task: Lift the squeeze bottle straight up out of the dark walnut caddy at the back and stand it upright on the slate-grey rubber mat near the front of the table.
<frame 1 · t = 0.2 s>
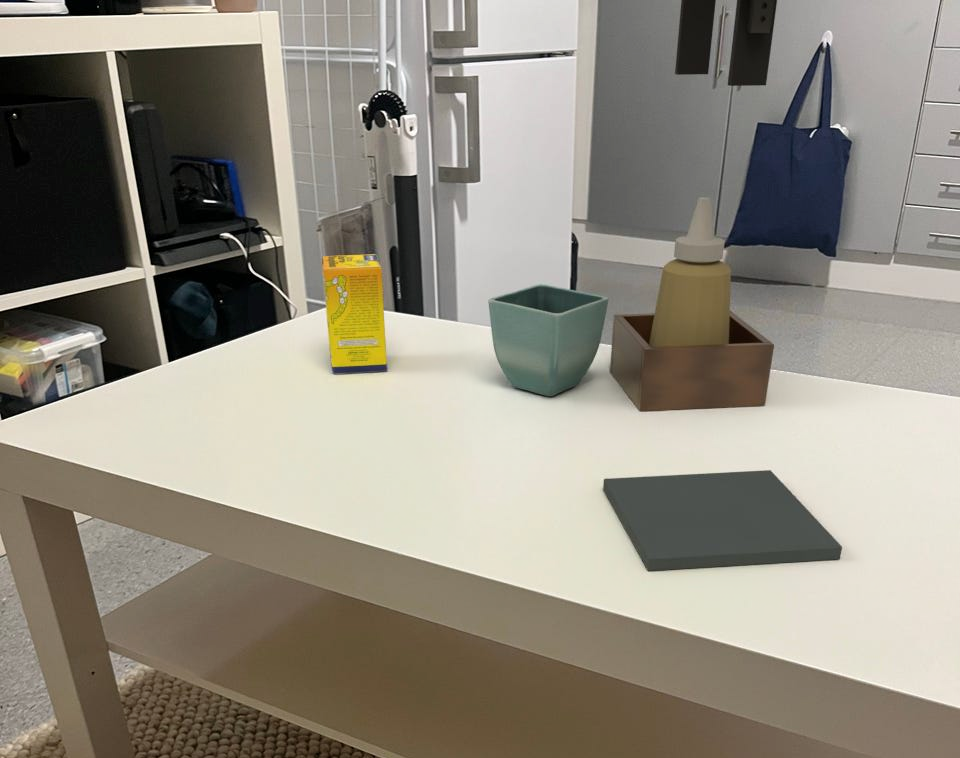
hand: (717, 80, 81), 28 cm above the table, tool pointing down, fingers open, 13 cm apart
squeeze bottle: (683, 389, 104), resting in caddy
caddy: (684, 387, 104), on the table
mat: (713, 522, 77), on the table
supplement box: (358, 366, 111), on the table
flower pot: (545, 389, 104), on the table
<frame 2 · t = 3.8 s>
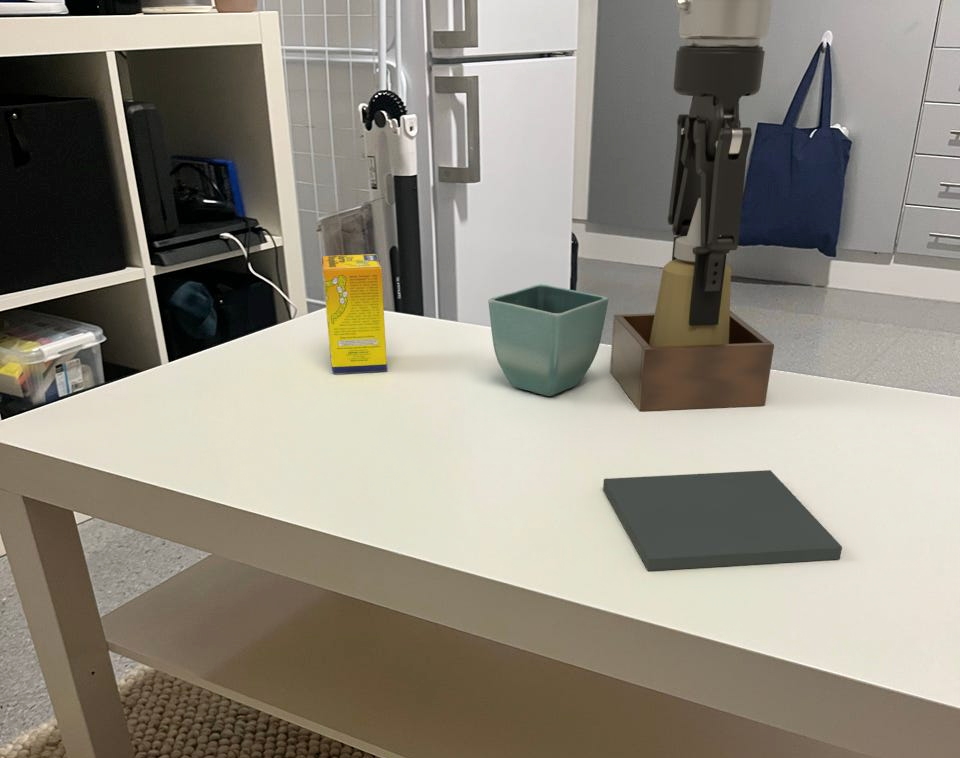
hand: (692, 313, 100), 7 cm above the table, tool pointing down, fingers closed on squeeze bottle, 6 cm apart
squeeze bottle: (683, 389, 104), resting in caddy, touching gripper
everything else where it was.
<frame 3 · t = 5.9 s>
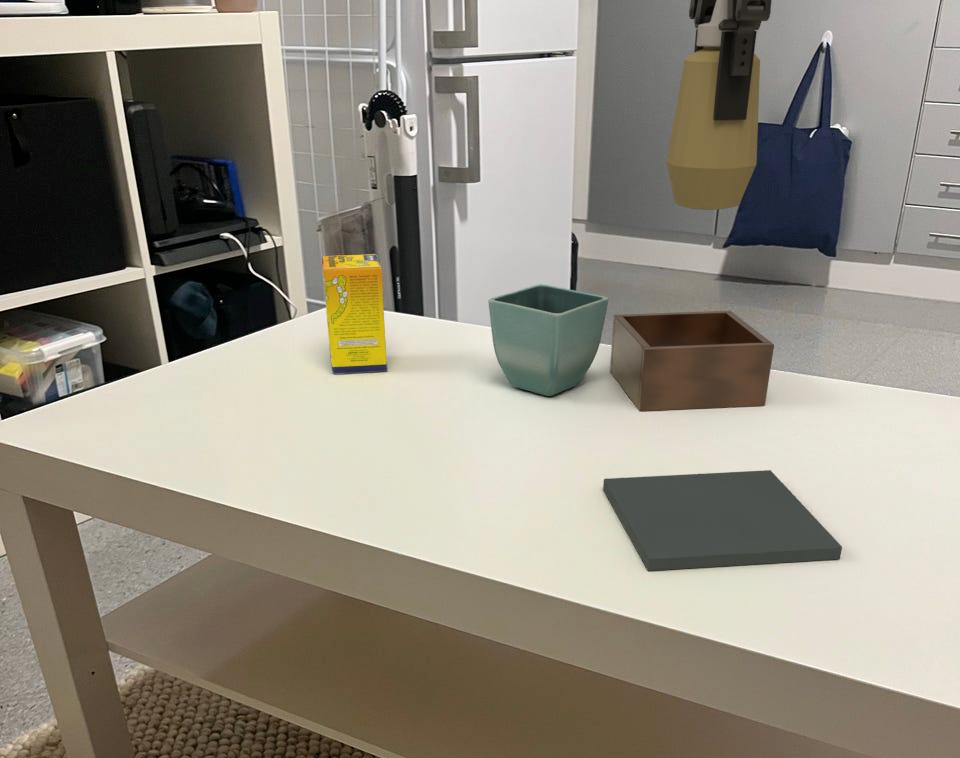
hand: (716, 115, 90), 25 cm above the table, tool pointing down, fingers closed on squeeze bottle, 6 cm apart
squeeze bottle: (706, 208, 94), point 17 cm above the table, touching gripper
everything else where it was.
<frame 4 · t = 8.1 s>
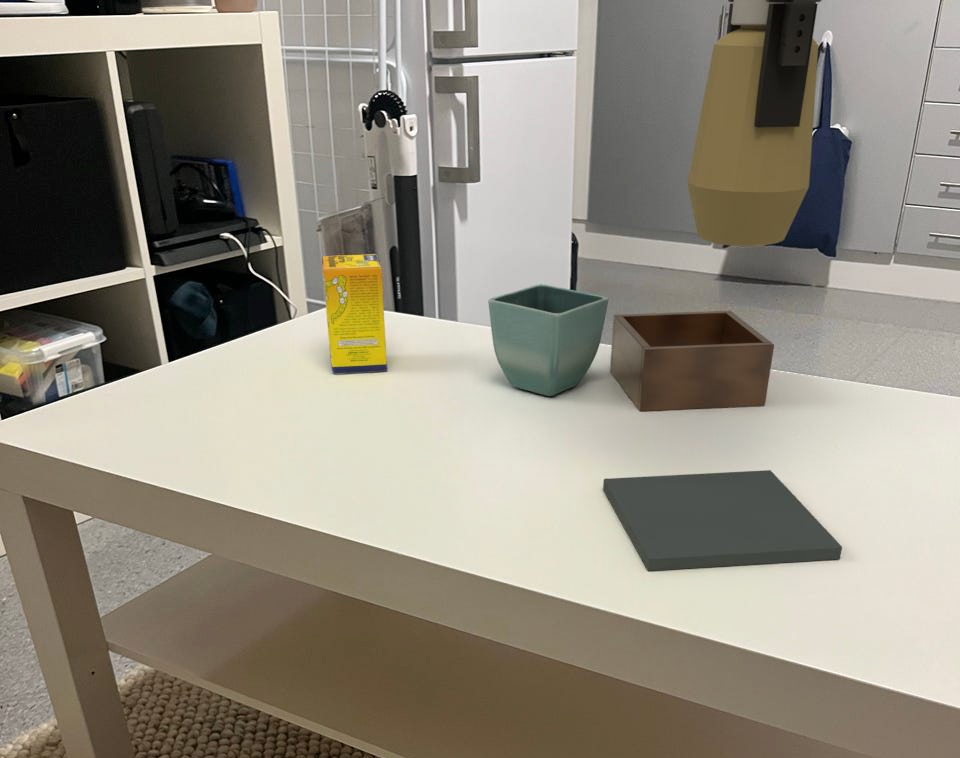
hand: (756, 120, 66), 27 cm above the table, tool pointing down, fingers closed on squeeze bottle, 6 cm apart
squeeze bottle: (739, 243, 70), point 19 cm above the table, touching gripper
everything else where it was.
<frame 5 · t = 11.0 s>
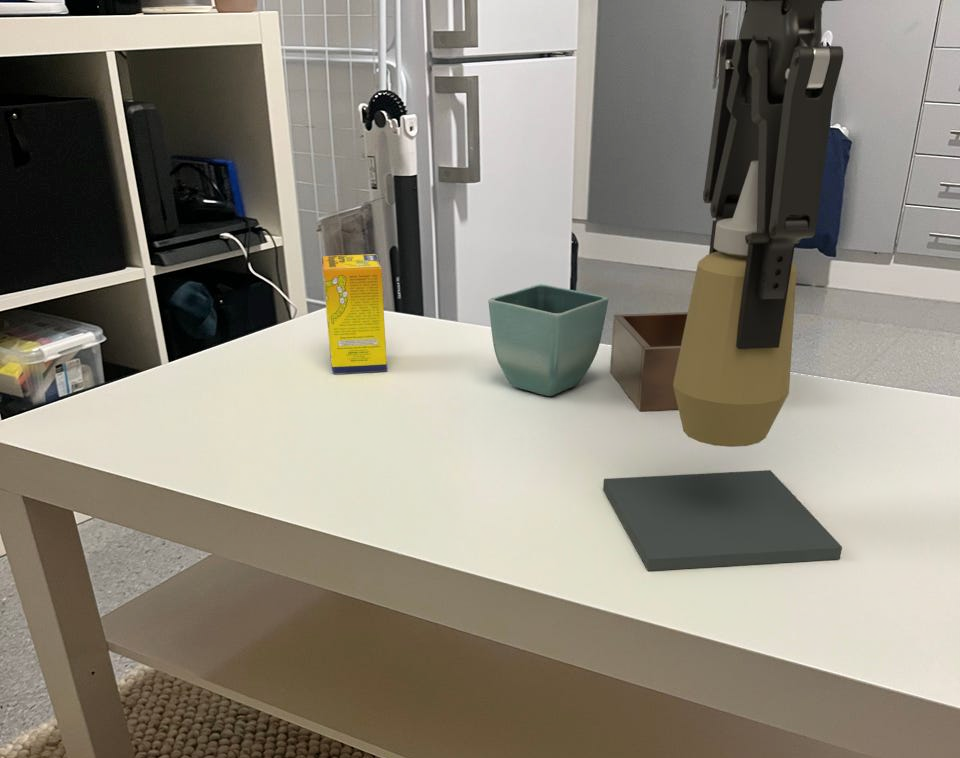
hand: (738, 331, 69), 14 cm above the table, tool pointing down, fingers closed on squeeze bottle, 6 cm apart
squeeze bottle: (723, 437, 73), point 7 cm above the table, touching gripper
everything else where it was.
when the fingers open (8 cm above the table, at t = 12.8 s): squeeze bottle stays where it is, resting on mat.
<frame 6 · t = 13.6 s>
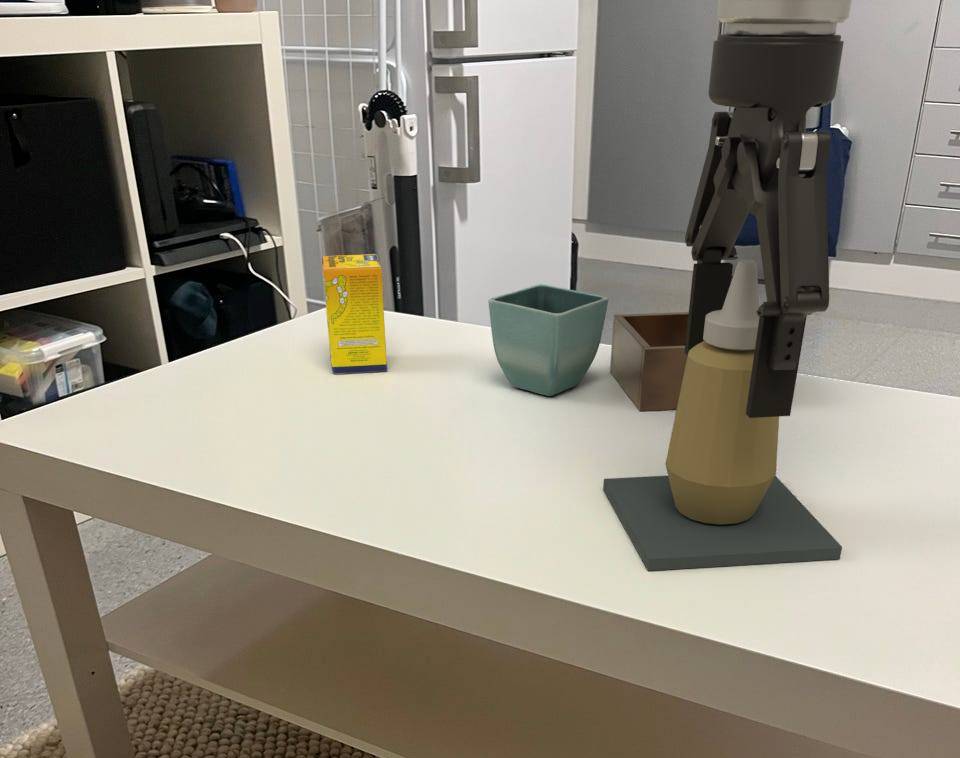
hand: (732, 382, 71), 11 cm above the table, tool pointing down, fingers open, 13 cm apart
squeeze bottle: (714, 512, 77), point 1 cm above the table, touching mat
everything else where it was.
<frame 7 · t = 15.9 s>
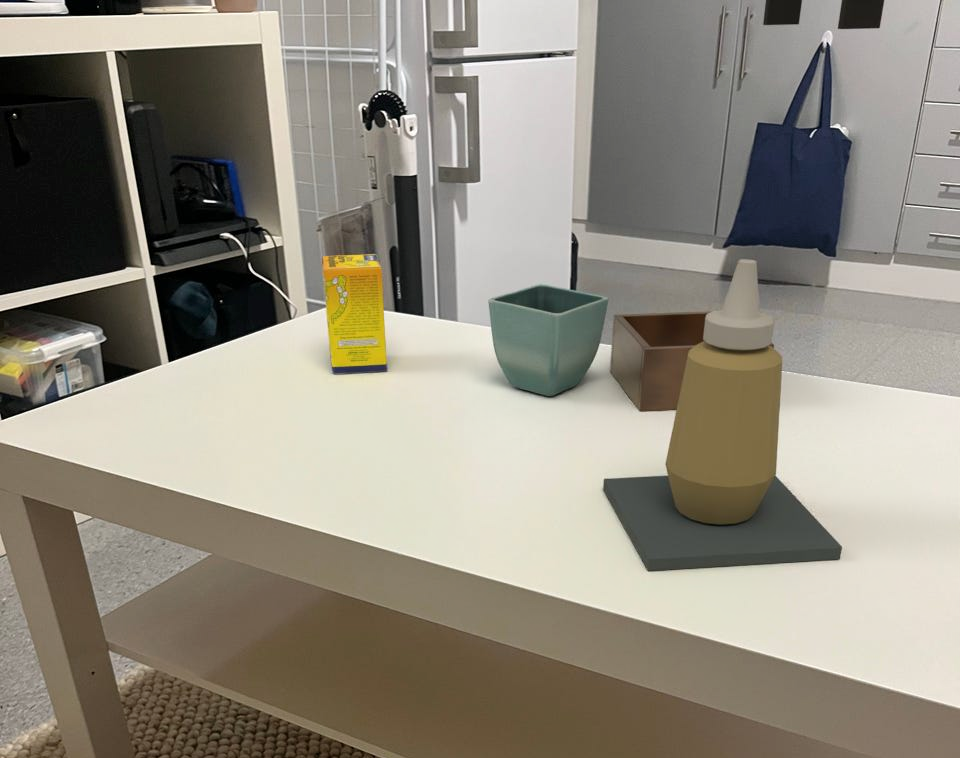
hand: (816, 27, 75), 32 cm above the table, tool pointing down, fingers open, 13 cm apart
nothing on the table moved.
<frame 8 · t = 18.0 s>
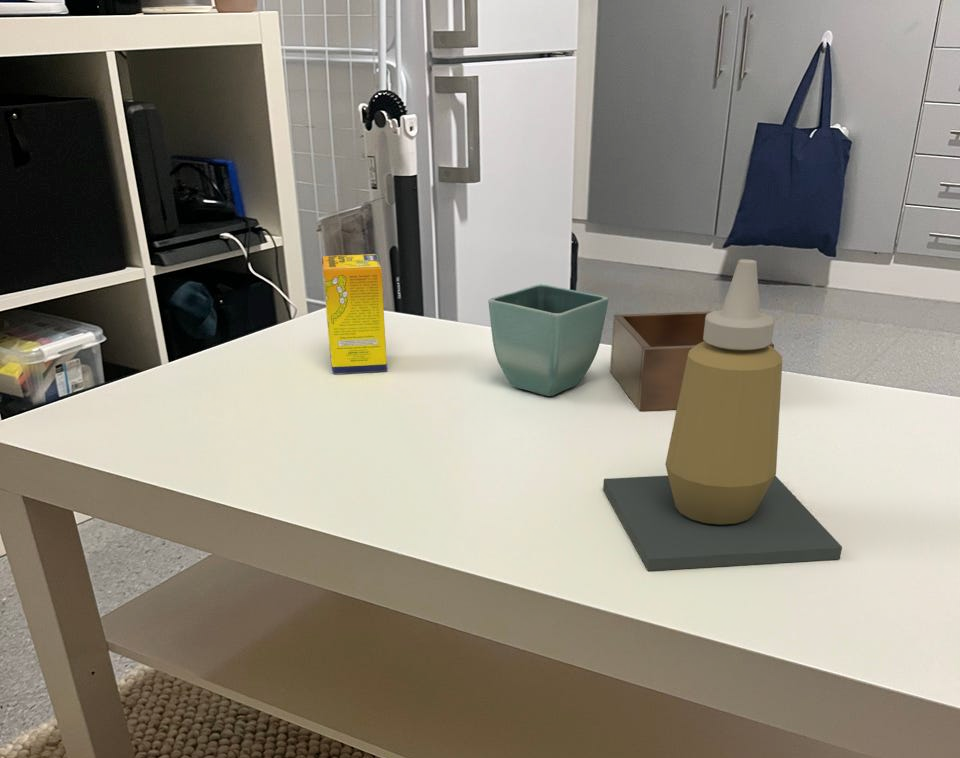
nothing on the table moved.
at the end: squeeze bottle inside the target area on the mat (0.1 cm from its centre), point 0.8 cm above the mat's base; squeeze bottle tilted 0°; the gripper is holding nothing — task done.
